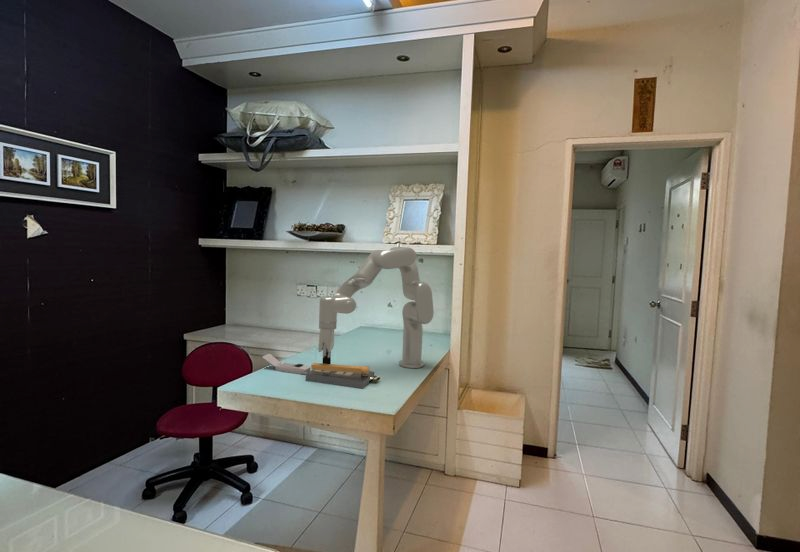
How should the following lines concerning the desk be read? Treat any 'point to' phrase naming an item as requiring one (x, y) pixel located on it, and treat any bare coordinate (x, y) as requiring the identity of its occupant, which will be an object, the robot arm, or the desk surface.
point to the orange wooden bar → (340, 368)
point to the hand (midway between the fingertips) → (326, 366)
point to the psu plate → (340, 378)
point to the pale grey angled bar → (287, 365)
